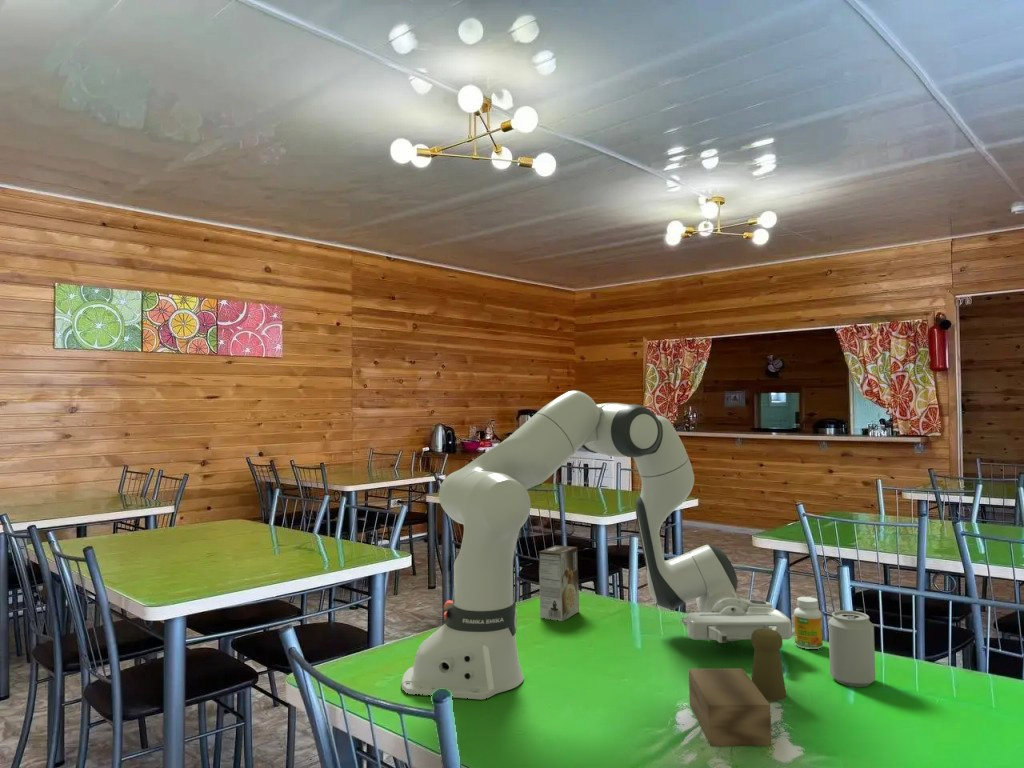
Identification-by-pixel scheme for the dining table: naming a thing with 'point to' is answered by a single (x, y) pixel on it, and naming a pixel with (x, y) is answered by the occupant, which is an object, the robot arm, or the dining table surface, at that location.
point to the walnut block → (729, 708)
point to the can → (851, 648)
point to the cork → (768, 664)
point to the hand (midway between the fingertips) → (748, 638)
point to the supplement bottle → (808, 623)
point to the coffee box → (558, 582)
